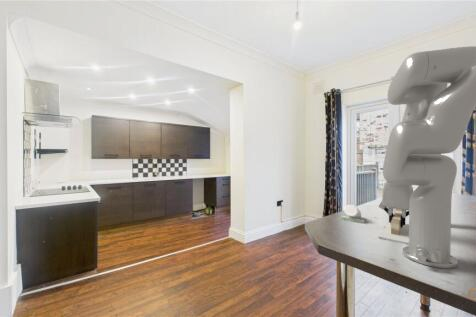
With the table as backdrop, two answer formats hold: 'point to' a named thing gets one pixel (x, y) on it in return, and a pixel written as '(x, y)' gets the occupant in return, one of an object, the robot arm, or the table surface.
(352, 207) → the white bottle
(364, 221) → the sage stop bar
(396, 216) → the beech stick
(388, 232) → the grey mat
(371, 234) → the table surface
